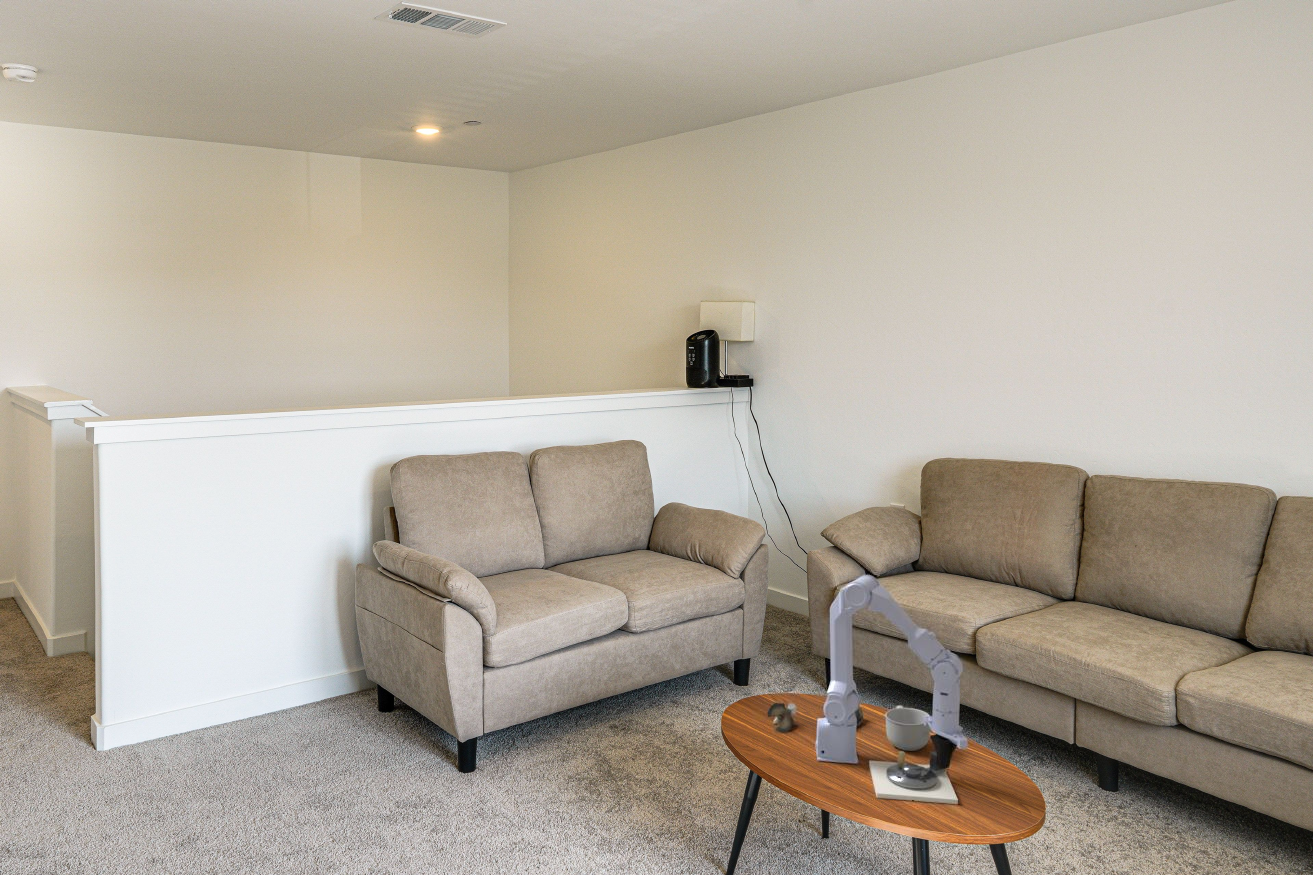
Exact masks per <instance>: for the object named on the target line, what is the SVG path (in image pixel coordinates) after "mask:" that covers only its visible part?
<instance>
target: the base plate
mask: <svg viewBox="0 0 1313 875" xmlns="http://www.w3.org/2000/svg"><path fill="white" fill-rule="evenodd" d="M897 764H907V763H906V752H905V751H904V750H899V751H897V762H895V761H894V762H893V761H883V760H881V761H878V760H868V766H869V772H870V775H871V779H872V782H873V783H872V784H873V788H874V793H875V796H876V798H877V799H887V800H898V801H899V800H900V801H912V800H914V802H924V803H925V802H926V803H938V804H949V805H958V804H959V802H958V801H959V799H958V796H957V795H956V792H955V789H954V787H953V785H952V783H951V780H950V778H949V776H948V774H947V771H946V772H943V773H939V774H936V776H937V784H936V785H935V786H933V787H931V788H927V789H911V788H906V787H902V786H899V785H897V784H895V783H893V782H891V781H890V780H889V779H888V778H887V776H886V771H887V769H888V768H889V767H890V766H893V765H897ZM915 764H916V765H918V766H921V767H924V768H929V767H930V764H918V763H915ZM912 802H913V801H912Z"/></svg>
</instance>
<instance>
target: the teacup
mask: <svg viewBox="0 0 1313 875" xmlns="http://www.w3.org/2000/svg"><path fill="white" fill-rule="evenodd" d="M884 716H885V731H886V737H887V739H888V741H889V742H890V744H892V745H893V746H894V747H895V748H897V749H899V750H901V749H902V750H901V751H909V752H915V751H919V750H921V749H922V748H923V747H926V745H927V744H928V743H929V741H930V736H931V729H930V727H929V726H925V725H924V717H926V716H931V715H930V714H929V713H927V712H926V711H925V710H924V711H923V710H922V709H918V708H912V707H904V706H903V705H897V706H896V707H895V708H891V709H890V710H888V711H886V712H885V714H884Z"/></svg>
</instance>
